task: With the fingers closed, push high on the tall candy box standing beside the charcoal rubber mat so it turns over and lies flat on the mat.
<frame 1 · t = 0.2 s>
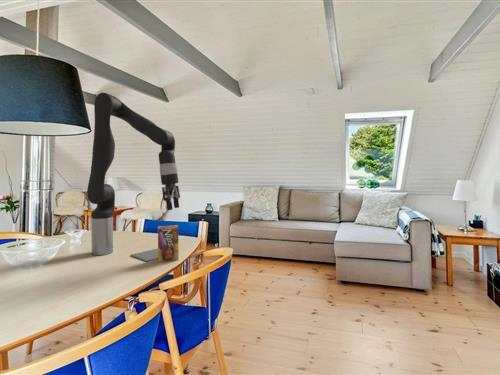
hand: (173, 208, 131), 23 cm above the table, tool pointing down, fingers open, 8 cm apart
candy box: (168, 260, 129), on the table
rubber mat: (154, 255, 136), on the table
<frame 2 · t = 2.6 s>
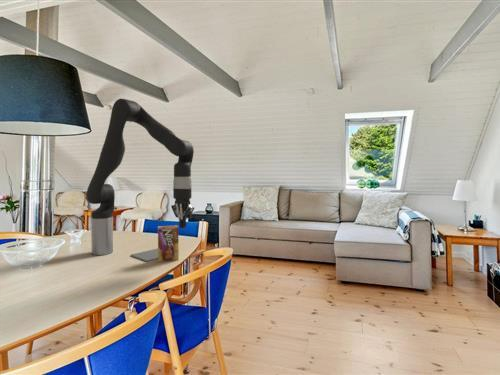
hand: (182, 227, 122), 16 cm above the table, tool pointing down, fingers closed
nothing on the table moved.
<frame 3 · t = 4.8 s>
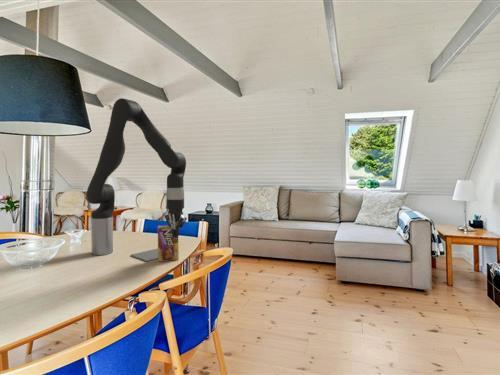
hand: (175, 237, 125), 11 cm above the table, tool pointing down, fingers closed
candy box: (168, 259, 129), on the table, touching gripper, hand
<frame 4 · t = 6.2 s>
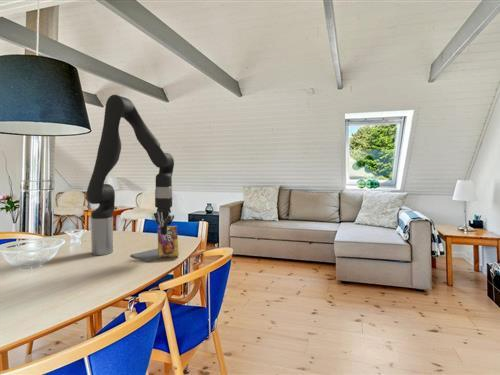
hand: (163, 234, 130), 11 cm above the table, tool pointing down, fingers closed
candy box: (168, 257, 129), point 1 cm above the table
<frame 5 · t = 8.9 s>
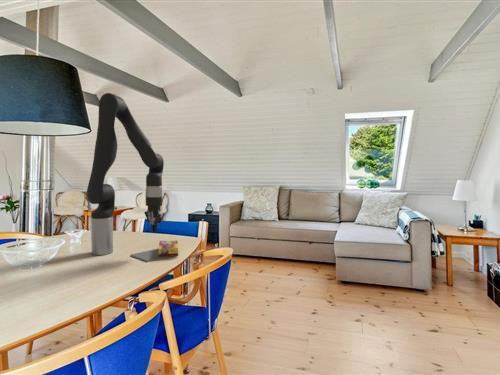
hand: (154, 232, 135), 11 cm above the table, tool pointing down, fingers closed
candy box: (168, 252, 131), point 3 cm above the table, touching rubber mat
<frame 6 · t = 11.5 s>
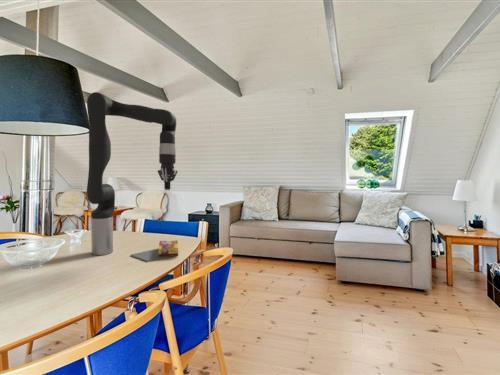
hand: (167, 189, 137), 31 cm above the table, tool pointing down, fingers closed
nothing on the table moved.
at the end: candy box tilted 89°; candy box inside the target area on the rubber mat (7.9 cm from its centre), point 2.5 cm above the rubber mat's base; candy box touching rubber mat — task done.
